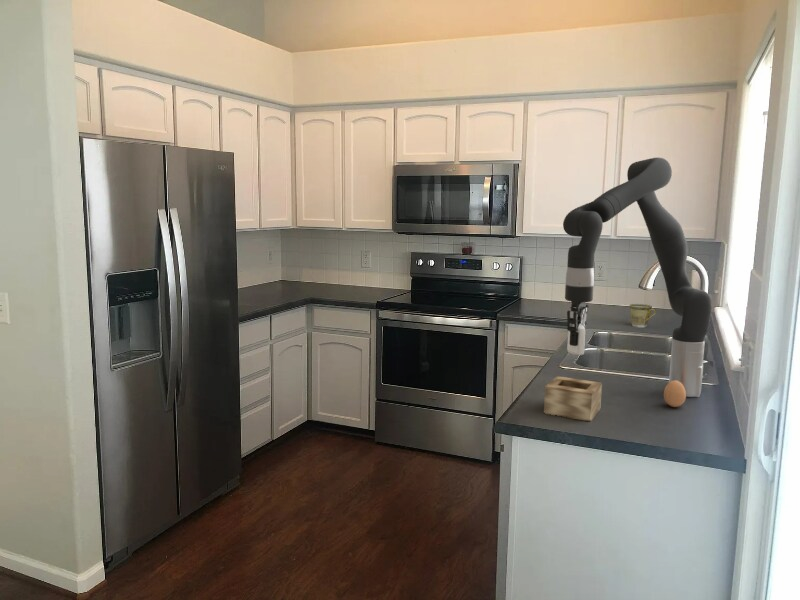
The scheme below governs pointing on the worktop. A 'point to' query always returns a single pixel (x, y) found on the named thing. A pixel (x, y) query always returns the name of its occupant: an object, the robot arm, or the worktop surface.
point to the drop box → (573, 398)
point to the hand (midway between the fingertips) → (576, 343)
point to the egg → (674, 393)
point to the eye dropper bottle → (581, 342)
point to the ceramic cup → (640, 314)
